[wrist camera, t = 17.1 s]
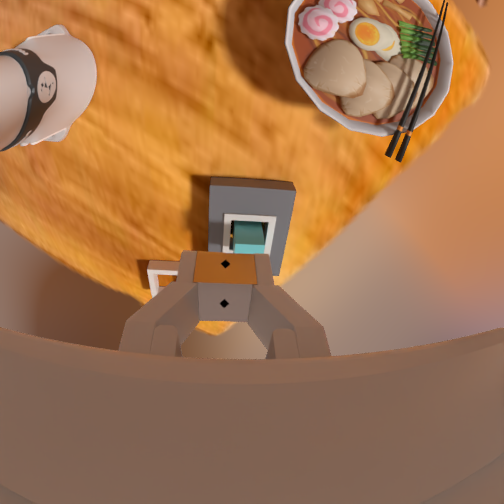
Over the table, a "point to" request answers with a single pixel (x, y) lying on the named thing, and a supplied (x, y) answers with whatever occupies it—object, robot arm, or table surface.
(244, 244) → the plug
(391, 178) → the table surface
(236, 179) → the socket block
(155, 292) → the white square frame
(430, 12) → the ramen bowl
